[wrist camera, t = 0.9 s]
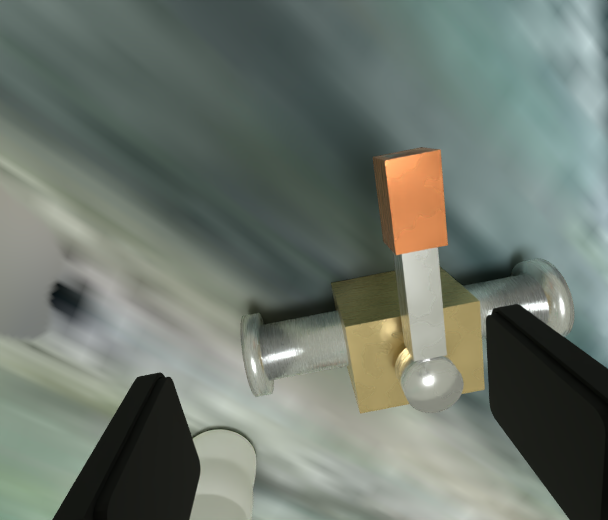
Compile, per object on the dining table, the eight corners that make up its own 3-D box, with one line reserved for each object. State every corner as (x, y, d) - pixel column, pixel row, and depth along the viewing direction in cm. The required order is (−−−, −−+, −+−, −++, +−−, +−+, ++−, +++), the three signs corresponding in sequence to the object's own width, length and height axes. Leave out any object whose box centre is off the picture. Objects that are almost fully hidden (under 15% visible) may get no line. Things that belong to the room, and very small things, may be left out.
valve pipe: (244, 299, 34) (232, 353, 26) (522, 245, 34) (599, 282, 26) (262, 369, 36) (256, 439, 28) (523, 318, 36) (594, 374, 28)
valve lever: (365, 158, 22) (376, 162, 20) (428, 146, 22) (448, 148, 20) (397, 391, 27) (409, 419, 25) (448, 381, 27) (466, 408, 25)
